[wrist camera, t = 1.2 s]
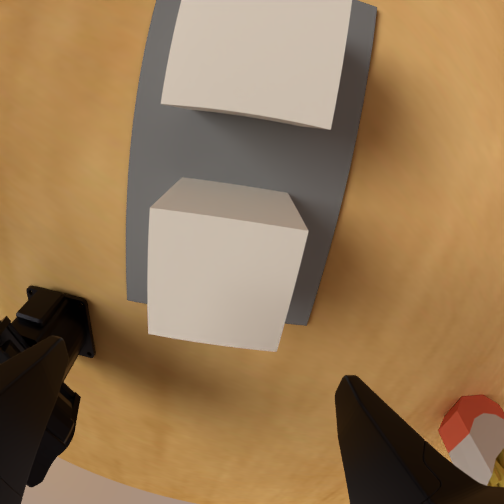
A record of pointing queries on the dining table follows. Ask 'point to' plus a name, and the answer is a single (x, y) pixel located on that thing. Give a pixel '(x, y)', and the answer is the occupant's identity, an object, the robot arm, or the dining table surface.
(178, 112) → the mat
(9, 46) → the dining table surface
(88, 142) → the dining table surface
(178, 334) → the white cube
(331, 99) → the closed white box
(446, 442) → the french fries container
